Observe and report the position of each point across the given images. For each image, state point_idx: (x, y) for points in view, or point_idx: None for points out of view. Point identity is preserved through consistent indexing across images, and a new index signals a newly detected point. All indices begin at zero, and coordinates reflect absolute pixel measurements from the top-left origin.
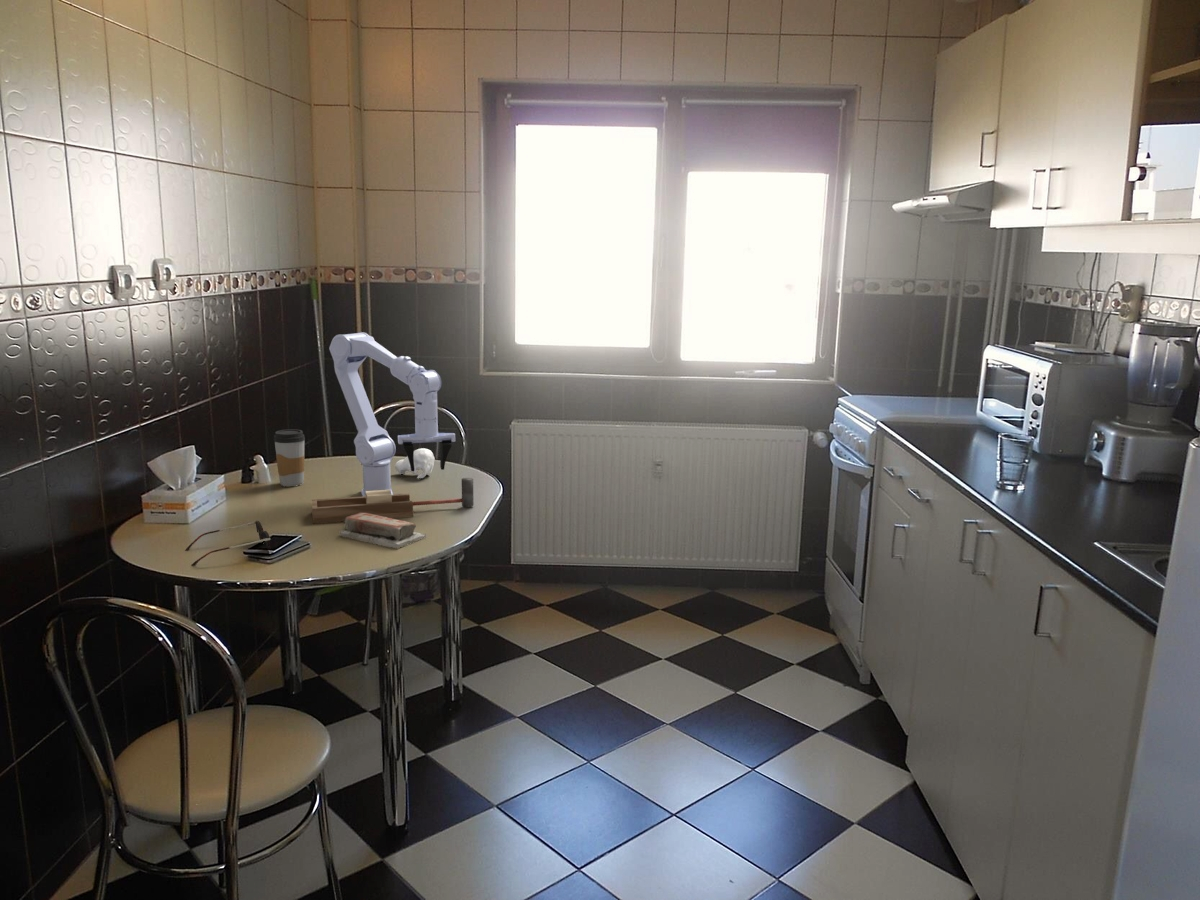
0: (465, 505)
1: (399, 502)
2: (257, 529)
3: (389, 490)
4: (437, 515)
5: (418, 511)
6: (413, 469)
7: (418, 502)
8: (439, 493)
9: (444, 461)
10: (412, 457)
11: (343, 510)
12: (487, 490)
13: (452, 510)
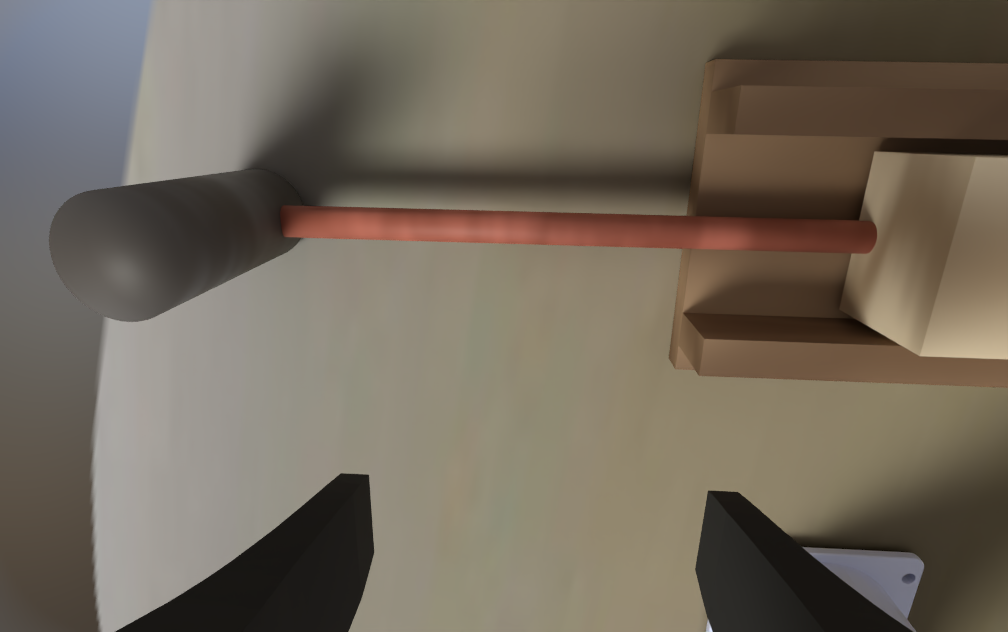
0: (276, 178)
1: (865, 104)
2: None
3: (933, 327)
4: (517, 43)
5: (636, 198)
6: (727, 501)
7: (644, 220)
8: (424, 563)
9: (286, 529)
10: (834, 624)
11: None
12: (128, 546)
13: (387, 154)
